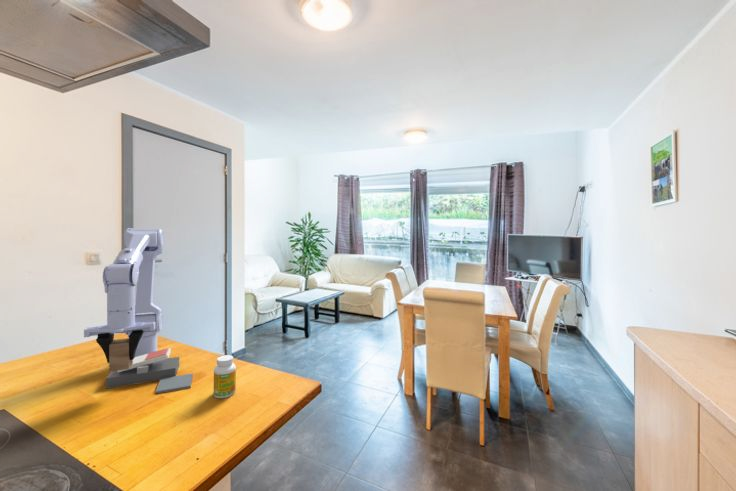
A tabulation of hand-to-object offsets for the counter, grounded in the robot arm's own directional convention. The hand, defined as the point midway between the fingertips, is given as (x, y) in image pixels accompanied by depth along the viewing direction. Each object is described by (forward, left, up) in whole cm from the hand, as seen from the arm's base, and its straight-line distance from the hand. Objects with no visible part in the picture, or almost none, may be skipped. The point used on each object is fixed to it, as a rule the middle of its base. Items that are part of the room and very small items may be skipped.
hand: (121, 359), depth 79 cm
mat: (0, +12, -9) cm, 15 cm away
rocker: (-9, +4, -4) cm, 11 cm away
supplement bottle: (+11, +25, -9) cm, 28 cm away
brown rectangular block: (0, 0, -2) cm, 2 cm away
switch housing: (-9, +4, -9) cm, 13 cm away
